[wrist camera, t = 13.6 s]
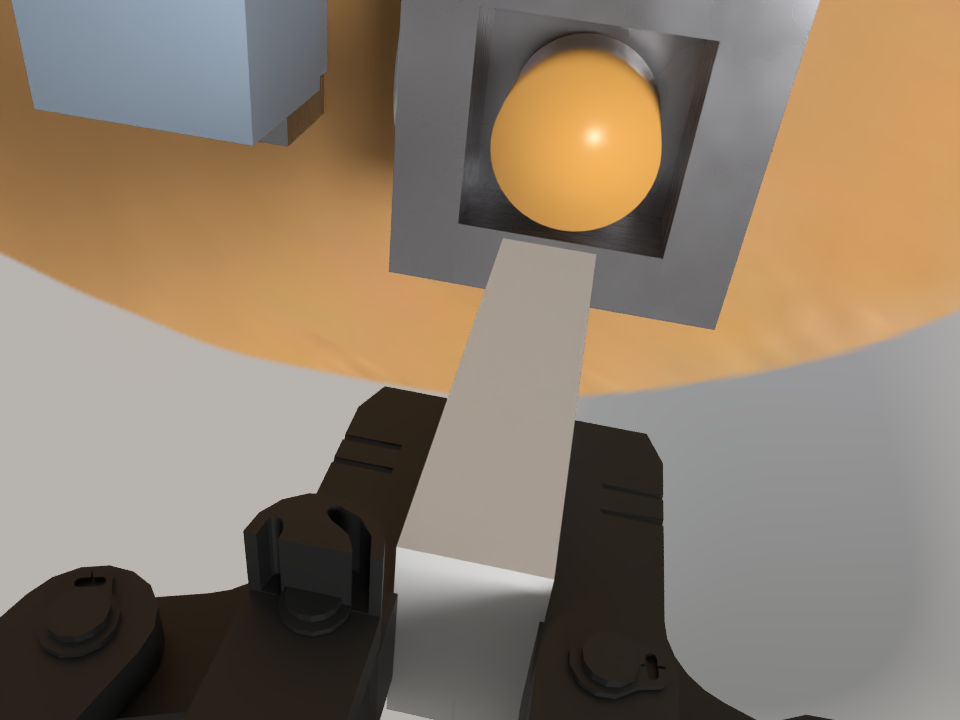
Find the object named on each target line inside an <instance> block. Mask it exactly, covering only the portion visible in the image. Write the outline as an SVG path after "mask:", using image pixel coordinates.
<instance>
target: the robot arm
mask: <svg viewBox="0 0 960 720" xmlns="http://www.w3.org/2000/svg"><path fill="white" fill-rule="evenodd" d="M595 261H596V254H592V253H586V252H580V251H574V250H569V249H563V248H557V247H551V246H546V245H540V244H534V243H528V242H523V241H517V240H511V239H505V238H503V239H502V242H501V245H500V248H499V251H498V254H497V257H496V260H495V263H494V266H493V268H492V271H491V274H490V277H489V280H488V283H487V286H486V289H485V292H484V295H483V297H482V300H481V303H480V306H479V309H478V312H477V315H476V318H475V321H474V324H473V326H472V329H471V332H470V335H469V338H468V341H467V344H466V347H465V350H464V353H463V355H462V358H461V361H460V364H459V367H458V370H457V373H456V376H455V379H454V382H453V384H452V387H451V390H450V393H449V396H448V398H443V397H437V396H432V395H426V394H422V393H417V392H411V391H406V390H401V389H396V388H390V387H384V388H382V389H381V390H380V391H379V392H377V393H376V394H375V395H373V396H372V397H371V398H370V399H368V400H367V401H366V402H364V403H363V404H362V405H361V406H359V407H358V409H357V412H356V413H355V416H354V418H353V420H352V422H351V424H350V426H349V428H348V430H347V432H346V434H345V439H344V440H342V442H341V444H340V447H339V448H338V450H337V453H336V455H335V458H334V462H332V463H331V465H330V467H329V469H328V471H327V473H326V475H325V477H324V480H323V481H322V483H321V486H320V488H319V490H318V492H317V494H311V493H309V494H305V495H300V496H295V497H291V498H286V499H282V500H281V501H279V502H277V503H275V504H274V505H272V506H270V507H268V508H266V509H265V510H263V511H261V512H259V513H258V515H257V516H256V517H255V518H254V519H253V520H252V522H251V523H250V524H249V525H248V526H247V527H246V529H245V530H244V532H243V533H244V543H245V552H246V561H247V573H248V581H249V583H248V584H246V585H243V586H240V587H237V588H234V589H232V590H227V591H221V592H215V593H208V594H195V595H180V596H167V597H155V596H154V593H153V590H152V588H151V585H150V584H148V583H147V582H146V581H145V580H143V579H142V578H141V577H140V576H138V575H137V574H136V573H134V572H133V571H129V570H125V569H121V568H117V567H113V566H96V567H81V568H78V569H75V570H72V571H70V572H66V573H64V574H61V575H58V576H55V577H52V578H51V579H49V580H48V581H46V582H45V583H43V584H42V585H40V586H38V587H37V588H35V589H34V590H33V591H31V592H29V593H28V594H27V595H25V596H24V597H23V598H22V599H21V600H20V601H18V602H17V603H16V604H15V605H14V606H13V607H12V608H11V609H9V610H8V611H7V612H6V613H5V614H4V615H3V616H1V617H0V720H380V717H381V714H382V711H383V707H384V704H385V701H386V697H387V709H390V710H394V711H399V712H404V713H408V714H412V715H417V716H421V717H426V718H430V719H434V720H755V719H753V718H752V717H750V716H748V715H746V714H744V713H742V712H740V711H738V710H737V709H735V708H733V707H731V706H729V705H727V704H725V703H724V702H722V701H720V700H719V699H717V698H716V697H714V696H713V695H711V694H710V693H708V692H707V691H705V690H704V689H703V688H702V687H701V686H699V685H698V684H697V683H696V682H695V681H694V680H693V679H692V678H691V677H690V676H689V675H688V674H687V673H686V672H685V670H684V669H683V667H682V666H681V665H680V663H679V662H678V660H677V659H676V658H675V656H674V654H673V651H672V649H671V647H670V644H669V642H668V640H667V635H666V629H665V622H664V540H663V539H664V535H663V526H662V523H663V500H662V497H663V463H662V461H661V459H660V458H659V456H658V454H657V452H656V450H655V448H654V447H653V445H652V443H651V441H650V439H649V438H648V436H647V434H644V433H639V432H633V431H628V430H623V429H618V428H612V427H607V426H602V425H597V424H592V423H586V422H581V421H576V420H575V415H576V407H577V400H578V392H579V384H580V377H581V369H582V361H583V353H584V346H585V338H586V330H587V323H588V315H589V307H590V300H591V292H592V284H593V276H594V269H595ZM387 694H388V696H387ZM785 720H832V719H826V718H821V717H815V716H810V715H803V716H799V717H794V718H790V719H785Z"/></svg>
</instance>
